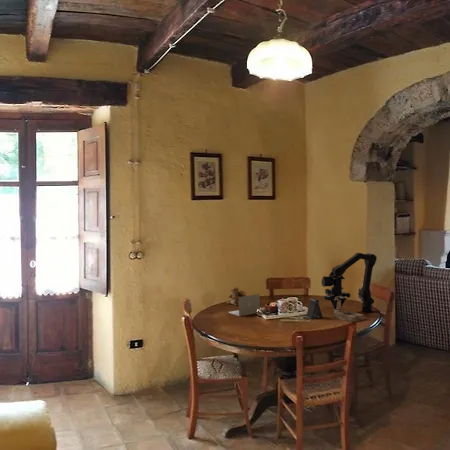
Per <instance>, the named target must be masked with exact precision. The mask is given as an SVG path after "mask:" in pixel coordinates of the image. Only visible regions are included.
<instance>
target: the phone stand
mask: <svg viewBox="0 0 450 450" xmlns="http://www.w3.org/2000/svg"><path fill="white" fill-rule="evenodd" d="M319 301H320V300H319V299H315V298H309V304H308V308H307V312H306V315H307V316H308V317H309V318H308V319H309V320H310V319H311V320H315V319H322V318H323V313H322V311H321V308H320V305H319V304H320V302H319Z"/></svg>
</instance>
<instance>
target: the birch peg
mask: <svg viewBox="0 0 450 450" xmlns="http://www.w3.org/2000/svg"><path fill="white" fill-rule="evenodd" d="M336 300H338V301H337V306H336V310H335V309H334V308H333V311H334V312H339V311H342V307H341V300H339V299H338V298H336ZM334 312H333V313H334Z"/></svg>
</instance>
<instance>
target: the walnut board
mask: <svg viewBox="0 0 450 450" xmlns="http://www.w3.org/2000/svg"><path fill="white" fill-rule="evenodd" d="M332 314H333V315H332V317H333V318H335V319H339V320H342V321H346V322H349V323H354V322H359V321H364V319H365V320H366V314H365V313H364V314H363V313H359V312H356V311H351V310H341V311H339V312H332Z"/></svg>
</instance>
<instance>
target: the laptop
mask: <svg viewBox="0 0 450 450" xmlns="http://www.w3.org/2000/svg"><path fill="white" fill-rule="evenodd" d="M260 302H261V301H260V293H256V294H250V295H246V296H243V297H239V305H238V310H232V311H228V313H229V314H231V315H233V316H238V317H241V316H247V315H252V314H256V311H257V309H260V305H261V304H260ZM260 310H261V309H260Z"/></svg>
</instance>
